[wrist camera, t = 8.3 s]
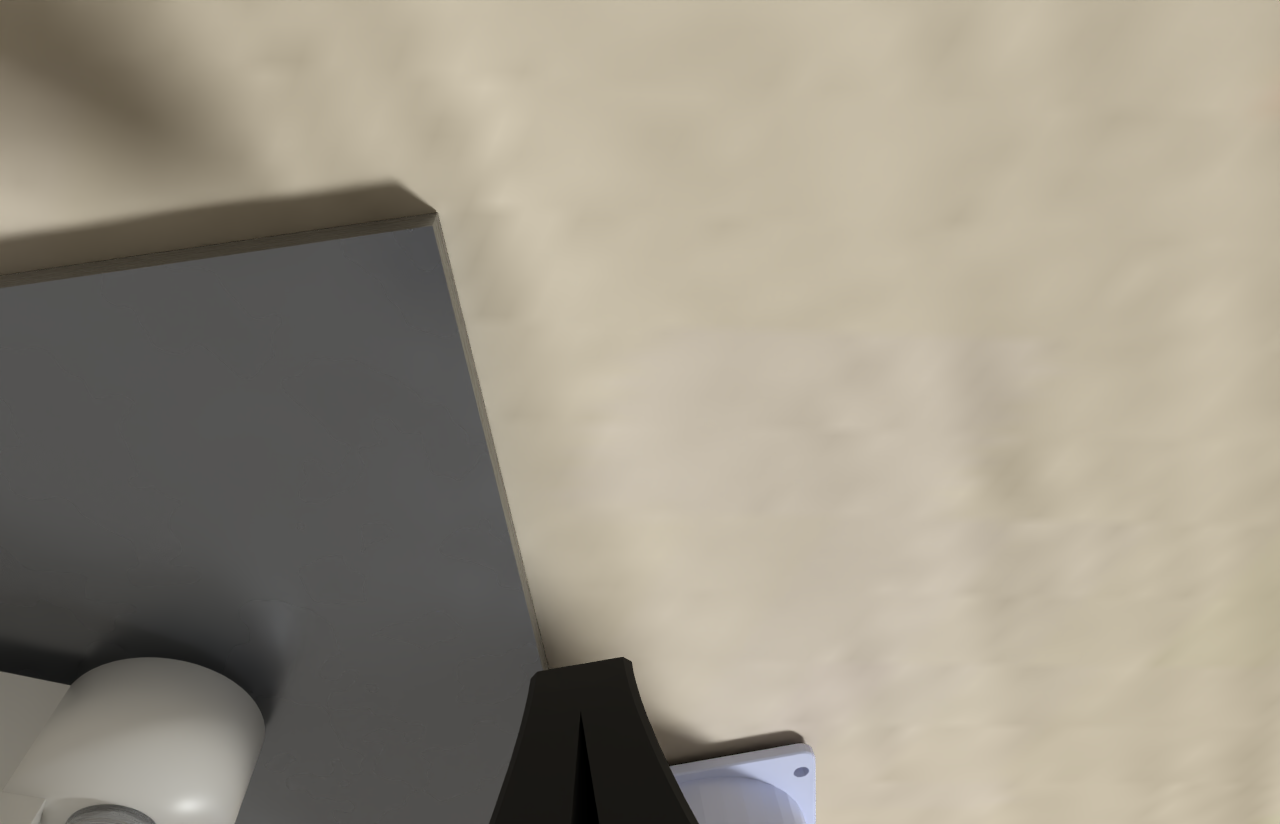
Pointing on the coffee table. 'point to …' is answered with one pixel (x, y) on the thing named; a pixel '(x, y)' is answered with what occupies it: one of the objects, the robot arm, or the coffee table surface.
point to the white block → (127, 746)
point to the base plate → (274, 508)
